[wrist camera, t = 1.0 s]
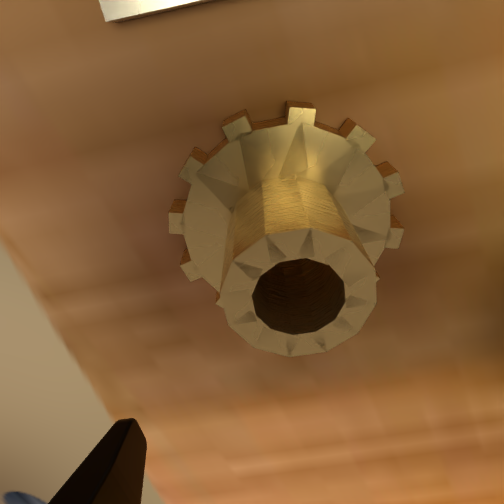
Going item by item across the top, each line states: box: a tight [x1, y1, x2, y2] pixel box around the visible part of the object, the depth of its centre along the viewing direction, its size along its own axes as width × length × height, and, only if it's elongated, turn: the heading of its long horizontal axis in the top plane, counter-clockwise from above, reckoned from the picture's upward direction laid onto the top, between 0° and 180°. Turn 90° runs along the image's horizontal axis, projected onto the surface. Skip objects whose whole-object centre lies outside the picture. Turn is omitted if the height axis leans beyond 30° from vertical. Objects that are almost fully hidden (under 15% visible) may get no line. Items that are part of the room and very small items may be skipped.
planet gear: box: [168, 101, 405, 357], centre depth 15 cm, size 10×10×6 cm
